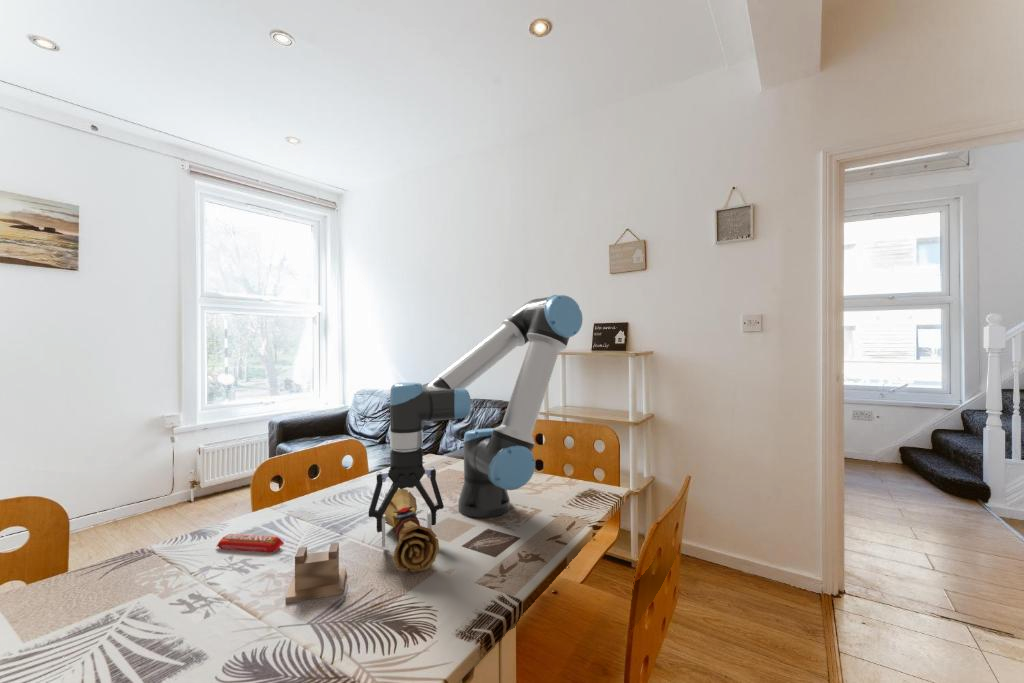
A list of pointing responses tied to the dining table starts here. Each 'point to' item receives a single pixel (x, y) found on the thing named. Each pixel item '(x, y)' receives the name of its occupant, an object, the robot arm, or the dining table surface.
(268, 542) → the candy bar
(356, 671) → the dining table surface
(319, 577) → the ridge block
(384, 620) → the dining table surface
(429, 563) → the scroll
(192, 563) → the dining table surface
